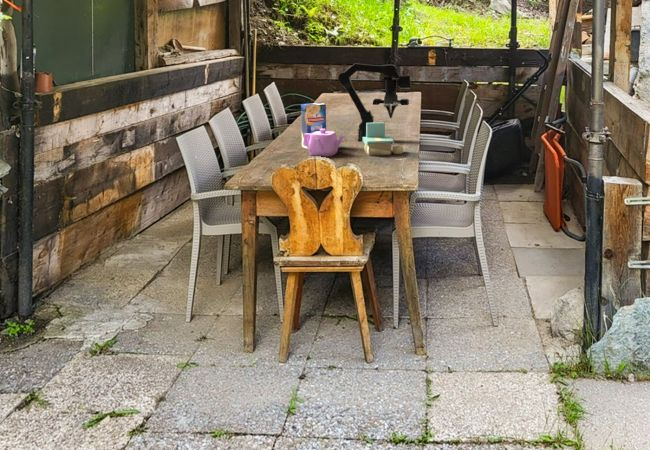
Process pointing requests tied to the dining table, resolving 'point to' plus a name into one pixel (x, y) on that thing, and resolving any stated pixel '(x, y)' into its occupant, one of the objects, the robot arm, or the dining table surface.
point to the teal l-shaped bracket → (376, 134)
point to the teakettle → (322, 143)
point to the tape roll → (397, 149)
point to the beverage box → (312, 118)
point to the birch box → (378, 148)
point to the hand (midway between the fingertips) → (390, 118)
